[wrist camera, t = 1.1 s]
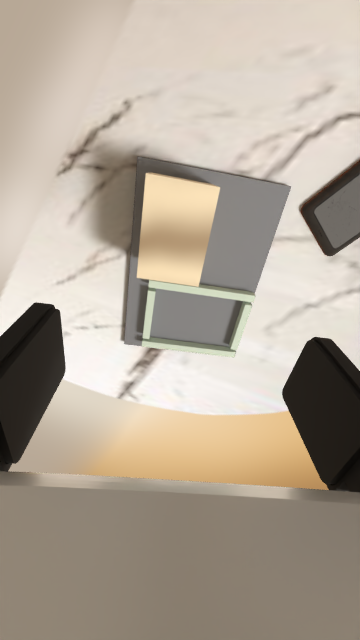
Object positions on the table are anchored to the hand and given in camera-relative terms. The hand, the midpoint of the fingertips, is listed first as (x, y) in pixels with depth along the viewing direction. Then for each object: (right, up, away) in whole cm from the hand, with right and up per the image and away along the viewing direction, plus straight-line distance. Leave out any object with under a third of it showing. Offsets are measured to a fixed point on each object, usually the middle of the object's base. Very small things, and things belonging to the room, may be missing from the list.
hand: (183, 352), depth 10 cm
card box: (-1, +11, +15) cm, 18 cm away
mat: (+1, +6, +18) cm, 19 cm away
